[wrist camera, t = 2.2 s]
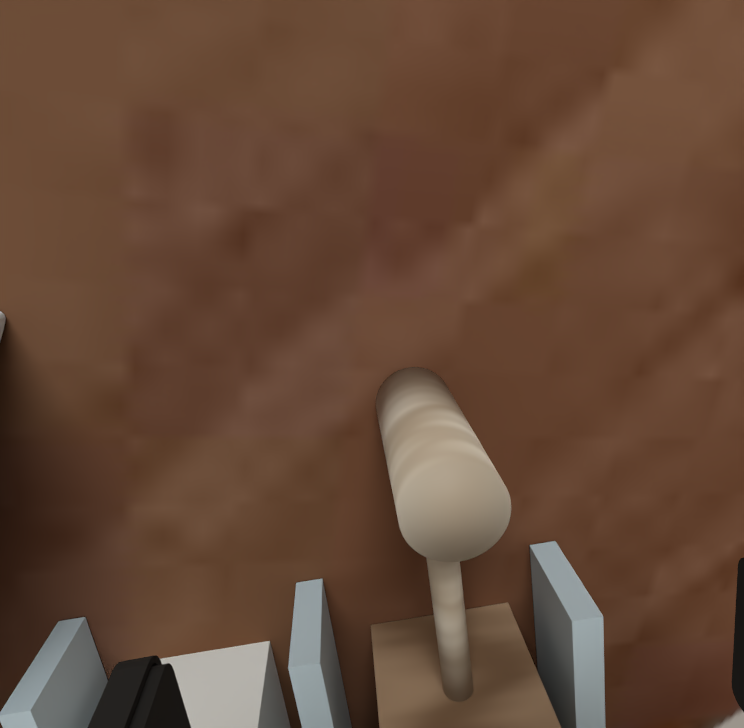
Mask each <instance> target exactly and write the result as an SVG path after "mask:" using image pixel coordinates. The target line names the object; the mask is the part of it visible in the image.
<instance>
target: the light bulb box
mask: <svg viewBox="0 0 744 728" xmlns="http://www.w3.org/2000/svg"><path fill="white" fill-rule="evenodd" d="M5 319H6V318H5V315H4V314H3V313H2V312H1V311H0V341H1V337H2V333H3V330H4V325H5Z"/></svg>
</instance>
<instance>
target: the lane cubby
mask: <svg viewBox="0 0 744 728" xmlns="http://www.w3.org/2000/svg"><path fill="white" fill-rule="evenodd" d="M530 560H531V575H532V591H533V606H534V622H535V637H536V653H537V669H538V674H539V676H540V679H541V681H542V683H543V686H544V688H545V690H546V693H547V695H548V697H549V700H550V702H551V704H552V707H553V709H554V712H555V714H556V716H557V719H558V721H559V723H560V726H561V728H605V683H604V631H603V615H602V614H601V612H600V610H599V609H598V607H597V606H596V604H595V603H594V601H593V599H592V598H591V596H590V595H589V593H588V592H587V590H586V588H585V587H584V585H583V584H582V582H581V581H580V579H579V578H578V576H577V574H576V573H575V571H574V570H573V568H572V567H571V565H570V563H569V562H568V560H567V559H566V557H565V556H564V554H563V552H562V551H561V549H560V548H559V546H558V545H557V543H556V541H552V542H546V543H540V544H534V545H530ZM288 669H289V674H290V678H291V682H292V687H293V691H294V695H295V700H296V704H297V708H298V712H299V717H300V721H301V725H302V728H352V726H351V721H350V716H349V711H348V706H347V701H346V695H345V690H344V685H343V680H342V675H341V670H340V665H339V660H338V655H337V650H336V645H335V640H334V635H333V630H332V625H331V620H330V614H329V609H328V604H327V599H326V594H325V589H324V584H323V579H317V580H311V581H305V582H298V583H296V591H295V602H294V612H293V623H292V633H291V644H290V654H289V665H288ZM107 682H108V679H107V677H106V674H105V671H104V668H103V665H102V663H101V660H100V657H99V654H98V651H97V649H96V646H95V643H94V640H93V637H92V635H91V632H90V629H89V626H88V623H87V621H86V618H85V617H81V618H75V619H69V620H63V621H58V623H57V624H56V626H55V628H54V629H53V631H52V632H51V634H50V635H49V637H48V638H47V640H46V642H45V643H44V645H43V646H42V648H41V649H40V651H39V652H38V654H37V656H36V657H35V659H34V660H33V662H32V663H31V665H30V666H29V668H28V670H27V671H26V673H25V674H24V676H23V677H22V679H21V680H20V682H19V684H18V685H17V687H16V688H15V690H14V691H13V693H12V694H11V696H10V698H9V699H8V701H7V702H6V704H5V705H4V707H3V709H2V710H1V712H0V722H1V725H2V727H3V728H88V725H89V723H90V721H91V718H92V716H93V714H94V712H95V709H96V707H97V705H98V703H99V700H100V698H101V696H102V694H103V691H104V689H105V687H106V685H107Z"/></svg>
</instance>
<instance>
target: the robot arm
mask: <svg viewBox="0 0 744 728" xmlns="http://www.w3.org/2000/svg"><path fill="white" fill-rule="evenodd" d="M732 689H733V693H734V696H735V698H736V700H737V702H738V704H739V706H740V707H741V709H742V710H743V711H744V558H741V559H740V561H739V564H738V576H737V595H736V614H735V633H734V652H733V670H732ZM88 728H191V726H190V722H189V719H188V716H187V712H186V709H185V706H184V702H183V699H182V696H181V692H180V689H179V686H178V682H177V679H176V676H175V672H174V669H173V667H172V665H171V664H170V663H167V664H162V663H161V660H160V659H159V657H158V656H149V657H144V658H139V659H133V660H128V661H122V662H119V663H118V664H117V665H116V666H115V668H114V669H113V671H112V673H111V676H110V678H109V680H108V682H107V685H106V687H105V689H104V691H103V694H102V696H101V698H100V700H99V703H98V705H97V707H96V709H95V712H94V714H93V716H92V718H91V721H90V723H89V725H88Z"/></svg>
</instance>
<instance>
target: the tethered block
mask: <svg viewBox="0 0 744 728" xmlns="http://www.w3.org/2000/svg"><path fill="white" fill-rule="evenodd" d="M376 411H377V416H378V421H379V426H380V431H381V436H382V442H383V447H384V452H385V457H386V462H387V467H388V472H389V477H390V482H391V487H392V492H393V497H394V502H395V507H396V512H397V517H398V522H399V527H400V530H401V533H402V535H403V537H404V539H405V540H406V542H407V543H408V544H409V545H410V546H411V547H412V548H413V549H414V550H415V551H416V552H418V553H419V554H421V555H423V556H424V557H426V558H427V566H428V574H429V581H430V589H431V597H432V604H433V612H434V615H429V616H423V617H416V618H410V619H404V620H398V621H392V622H386V623H380V624H374V625H371V635H372V647H373V658H374V670H375V681H376V693H377V704H378V716H379V727H380V728H561V726H560V723H559V721H558V719H557V716H556V714H555V712H554V709H553V707H552V704H551V702H550V700H549V697H548V695H547V693H546V690H545V688H544V686H543V683H542V681H541V679H540V676H539V674H538V672H537V669H536V667H535V665H534V662H533V660H532V658H531V655H530V653H529V651H528V648H527V646H526V644H525V641H524V639H523V636H522V634H521V632H520V629H519V627H518V625H517V622H516V620H515V618H514V615H513V613H512V611H511V608H510V606H509V604H508V603H502V604H496V605H490V606H484V607H478V608H471V609H465V605H464V596H463V587H462V578H461V568H460V561H464V560H468V559H471V558H474V557H476V556H478V555H481V554H482V553H484V552H486V551H487V550H488V549H490V548H491V547H492V546H493V545H494V544H495V543H496V542H497V541H498V540H499V539H500V538H501V536H502V535H503V533H504V532H505V530H506V528H507V526H508V523H509V520H510V515H511V500H510V496H509V493H508V490H507V488H506V486H505V484H504V483H503V481H502V479H501V478H500V476H499V474H498V473H497V471H496V469H495V467H494V466H493V464H492V462H491V461H490V459H489V457H488V455H487V454H486V452H485V450H484V449H483V447H482V445H481V444H480V442H479V440H478V438H477V437H476V435H475V433H474V432H473V430H472V428H471V427H470V425H469V423H468V421H467V420H466V418H465V416H464V415H463V413H462V411H461V409H460V408H459V406H458V404H457V403H456V401H455V399H454V398H453V396H452V394H451V392H450V391H449V389H448V387H447V386H446V384H445V382H444V381H443V380H442V379H441V378H440V377H439V376H438V375H437V374H435V373H434V372H432V371H430V370H428V369H424V368H419V367H411V368H405V369H402V370H399V371H397V372H395V373H393V374H392V375H390V376H389V377H388V378H387V379H386V380H385V381H384V382H383V384H382V385H381V387H380V389H379V390H378V393H377V397H376Z"/></svg>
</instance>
